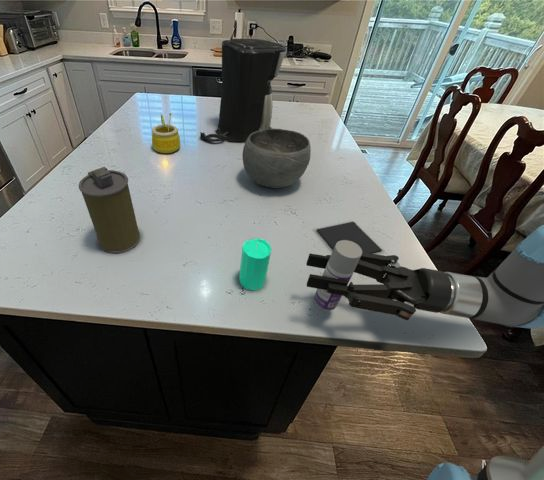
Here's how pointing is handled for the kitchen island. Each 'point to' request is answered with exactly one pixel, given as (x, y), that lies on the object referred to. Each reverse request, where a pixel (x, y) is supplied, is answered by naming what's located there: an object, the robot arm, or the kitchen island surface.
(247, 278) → the candle
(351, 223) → the mat
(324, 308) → the container
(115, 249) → the canister
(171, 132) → the mug
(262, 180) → the bowl
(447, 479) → the robot arm
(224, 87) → the coffee maker
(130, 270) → the kitchen island surface
